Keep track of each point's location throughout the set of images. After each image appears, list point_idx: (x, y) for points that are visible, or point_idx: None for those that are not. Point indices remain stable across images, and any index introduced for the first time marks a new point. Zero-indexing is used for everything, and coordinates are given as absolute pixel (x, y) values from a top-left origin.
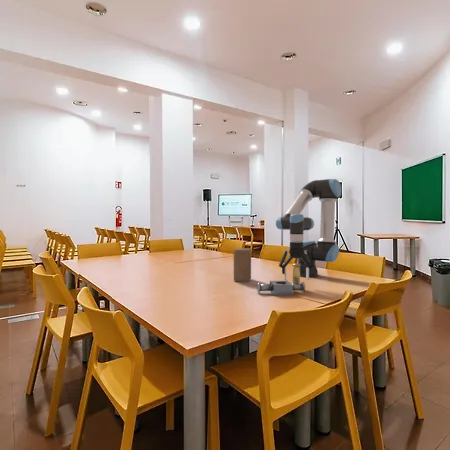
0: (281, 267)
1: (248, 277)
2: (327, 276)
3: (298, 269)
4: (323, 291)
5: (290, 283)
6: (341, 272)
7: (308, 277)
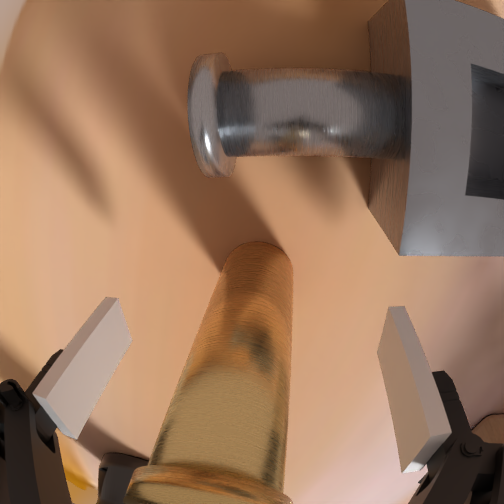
0: (492, 444)
1: (496, 432)
2: (68, 436)
3: (191, 415)
4: (54, 164)
5: (421, 62)
6: None
7: (98, 313)
